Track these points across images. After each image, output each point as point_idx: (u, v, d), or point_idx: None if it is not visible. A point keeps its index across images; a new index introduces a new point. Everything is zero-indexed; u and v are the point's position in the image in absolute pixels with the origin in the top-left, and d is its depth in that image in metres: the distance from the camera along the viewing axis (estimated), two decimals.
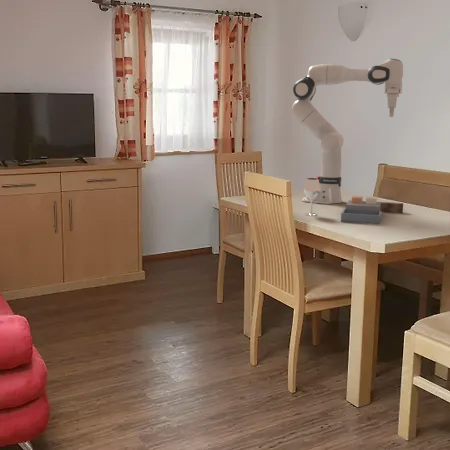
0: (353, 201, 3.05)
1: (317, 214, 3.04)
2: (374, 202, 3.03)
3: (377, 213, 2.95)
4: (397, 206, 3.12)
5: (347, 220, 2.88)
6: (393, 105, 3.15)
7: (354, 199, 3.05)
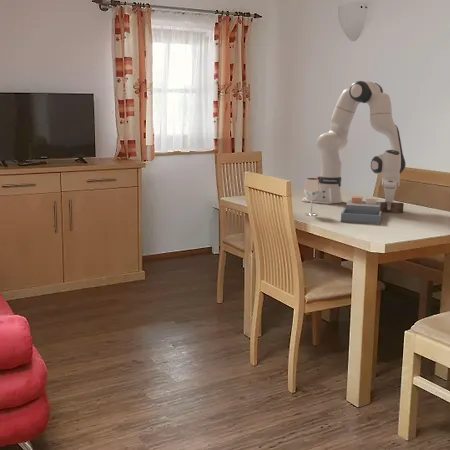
0: (353, 201, 3.05)
1: (317, 214, 3.04)
2: (374, 202, 3.03)
3: (377, 213, 2.95)
4: (397, 206, 3.12)
5: (347, 220, 2.88)
6: (390, 200, 3.04)
7: (354, 199, 3.05)
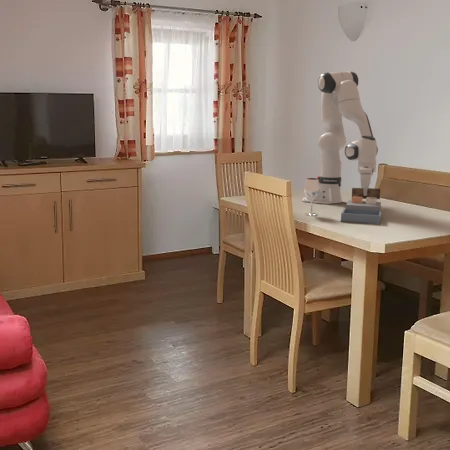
0: (353, 201, 3.05)
1: (317, 214, 3.04)
2: (374, 202, 3.03)
3: (377, 213, 2.95)
4: (374, 191, 3.11)
5: (347, 220, 2.88)
6: (366, 186, 3.02)
7: (354, 199, 3.05)
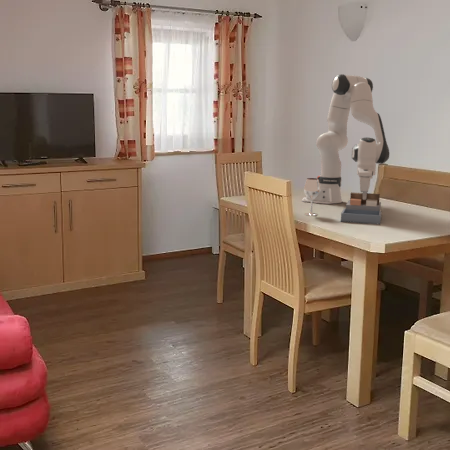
0: (352, 203, 2.99)
1: (317, 214, 3.04)
2: (374, 204, 2.96)
3: (377, 213, 2.95)
4: (373, 197, 3.00)
5: (347, 220, 2.88)
6: (366, 189, 2.92)
7: (353, 201, 2.99)
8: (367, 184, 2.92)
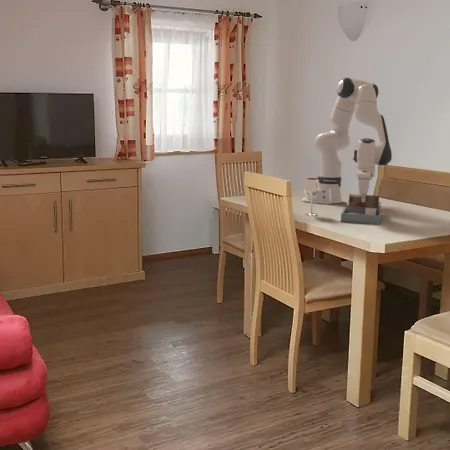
0: None
1: (317, 214, 3.04)
2: None
3: (377, 213, 2.95)
4: (372, 200, 2.93)
5: (347, 220, 2.88)
6: (365, 191, 2.85)
7: None
8: (366, 186, 2.85)
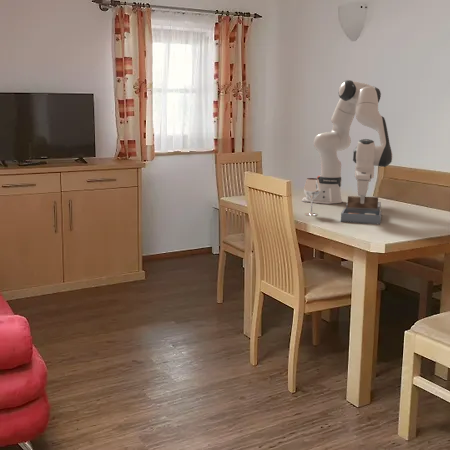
0: None
1: (317, 214, 3.04)
2: None
3: (377, 213, 2.95)
4: (371, 200, 2.89)
5: (347, 220, 2.88)
6: (363, 193, 2.81)
7: None
8: (365, 187, 2.81)
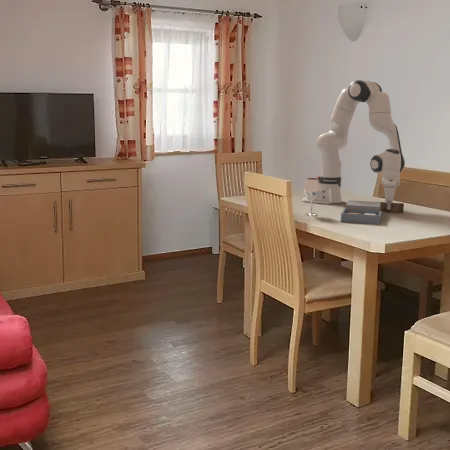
0: None
1: (317, 214, 3.04)
2: None
3: (377, 213, 2.95)
4: (398, 206, 3.11)
5: (347, 220, 2.88)
6: (391, 199, 3.03)
7: None
8: (392, 194, 3.03)
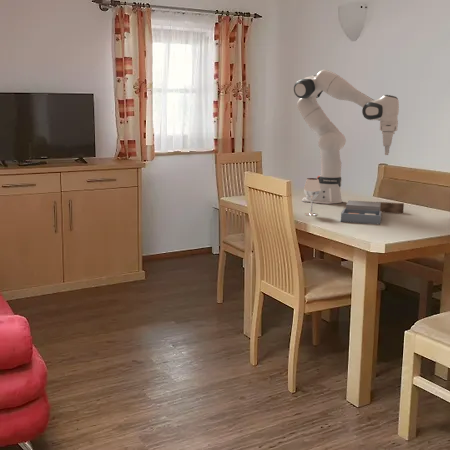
0: None
1: (317, 214, 3.04)
2: None
3: (377, 213, 2.95)
4: (397, 206, 3.11)
5: (347, 220, 2.88)
6: (388, 143, 3.05)
7: None
8: (390, 138, 3.05)
